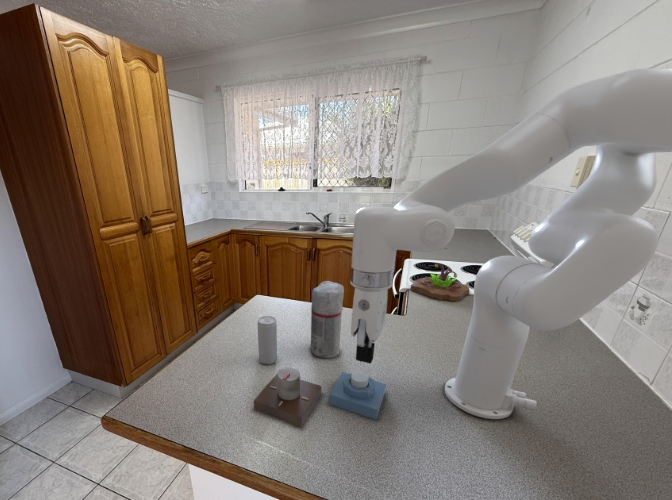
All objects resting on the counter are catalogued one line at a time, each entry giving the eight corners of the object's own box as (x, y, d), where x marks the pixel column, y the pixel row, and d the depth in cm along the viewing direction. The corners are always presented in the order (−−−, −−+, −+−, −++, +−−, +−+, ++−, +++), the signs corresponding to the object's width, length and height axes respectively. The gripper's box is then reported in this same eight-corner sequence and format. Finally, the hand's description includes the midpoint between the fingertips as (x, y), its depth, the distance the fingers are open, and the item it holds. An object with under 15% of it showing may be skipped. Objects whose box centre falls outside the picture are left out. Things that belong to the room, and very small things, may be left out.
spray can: (339, 361, 82) (345, 291, 74) (308, 358, 84) (310, 289, 76) (339, 344, 90) (345, 279, 82) (311, 342, 91) (313, 277, 83)
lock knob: (283, 383, 70) (283, 363, 68) (303, 389, 68) (303, 369, 66) (273, 396, 66) (273, 375, 64) (294, 403, 64) (294, 382, 62)
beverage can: (265, 353, 86) (263, 314, 82) (280, 358, 84) (279, 318, 79) (255, 362, 82) (253, 321, 78) (271, 367, 80) (270, 326, 76)
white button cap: (369, 381, 68) (370, 374, 67) (365, 391, 65) (366, 383, 64) (353, 376, 69) (353, 369, 69) (348, 386, 67) (349, 378, 66)
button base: (384, 393, 70) (387, 377, 68) (376, 420, 63) (378, 402, 61) (341, 380, 75) (342, 365, 73) (328, 404, 67) (330, 387, 66)
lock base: (321, 395, 70) (321, 385, 69) (301, 428, 61) (301, 417, 60) (278, 380, 75) (278, 371, 74) (254, 409, 66) (253, 399, 65)
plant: (426, 279, 139) (431, 255, 135) (474, 291, 125) (481, 264, 121) (403, 290, 128) (407, 264, 123) (453, 304, 114) (459, 275, 109)
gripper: (385, 293, 50) (375, 385, 57) (399, 267, 62) (389, 346, 69) (339, 286, 53) (335, 375, 61) (361, 263, 65) (355, 339, 72)
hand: (364, 359), depth 65 cm, fingers closed
